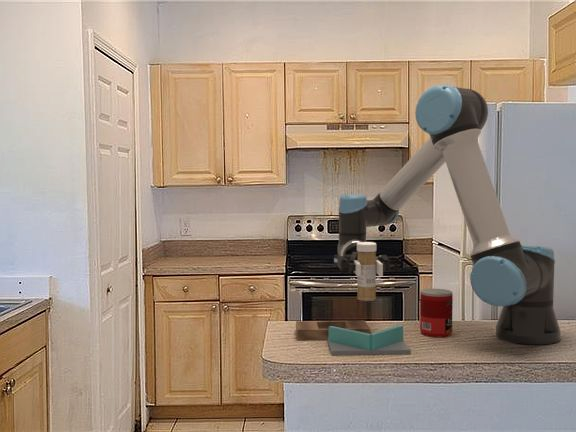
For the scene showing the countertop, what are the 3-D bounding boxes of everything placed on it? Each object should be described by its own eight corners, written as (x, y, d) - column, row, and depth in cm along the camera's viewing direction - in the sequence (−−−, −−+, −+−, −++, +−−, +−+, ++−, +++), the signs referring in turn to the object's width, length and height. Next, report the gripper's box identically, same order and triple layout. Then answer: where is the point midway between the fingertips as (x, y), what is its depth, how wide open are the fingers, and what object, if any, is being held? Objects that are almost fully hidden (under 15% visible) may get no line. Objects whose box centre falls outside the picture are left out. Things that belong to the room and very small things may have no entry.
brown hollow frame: (364, 330, 173) (364, 320, 173) (370, 339, 164) (370, 329, 164) (296, 331, 173) (295, 321, 173) (297, 340, 163) (297, 330, 163)
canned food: (452, 338, 164) (453, 294, 164) (420, 336, 166) (420, 293, 165) (451, 330, 172) (451, 288, 171) (420, 329, 173) (420, 288, 173)
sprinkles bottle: (373, 297, 158) (374, 241, 157) (378, 301, 154) (378, 243, 153) (354, 297, 158) (355, 241, 157) (358, 301, 153) (358, 244, 152)
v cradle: (400, 340, 163) (400, 322, 162) (410, 354, 151) (410, 334, 150) (327, 341, 162) (327, 323, 162) (331, 355, 150) (331, 335, 150)
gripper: (389, 270, 174) (408, 286, 150) (323, 270, 173) (331, 286, 150) (390, 241, 173) (408, 253, 150) (323, 241, 173) (331, 254, 149)
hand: (370, 270), depth 150 cm, fingers closed on sprinkles bottle, 4 cm apart
